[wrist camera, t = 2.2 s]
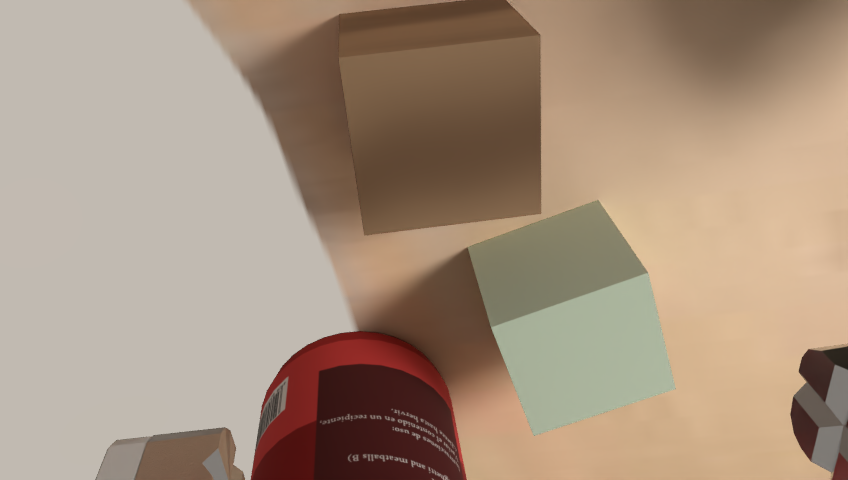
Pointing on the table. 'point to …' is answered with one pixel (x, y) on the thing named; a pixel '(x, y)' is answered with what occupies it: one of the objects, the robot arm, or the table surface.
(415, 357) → the canned food
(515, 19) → the walnut cube
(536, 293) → the sage block
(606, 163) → the table surface
